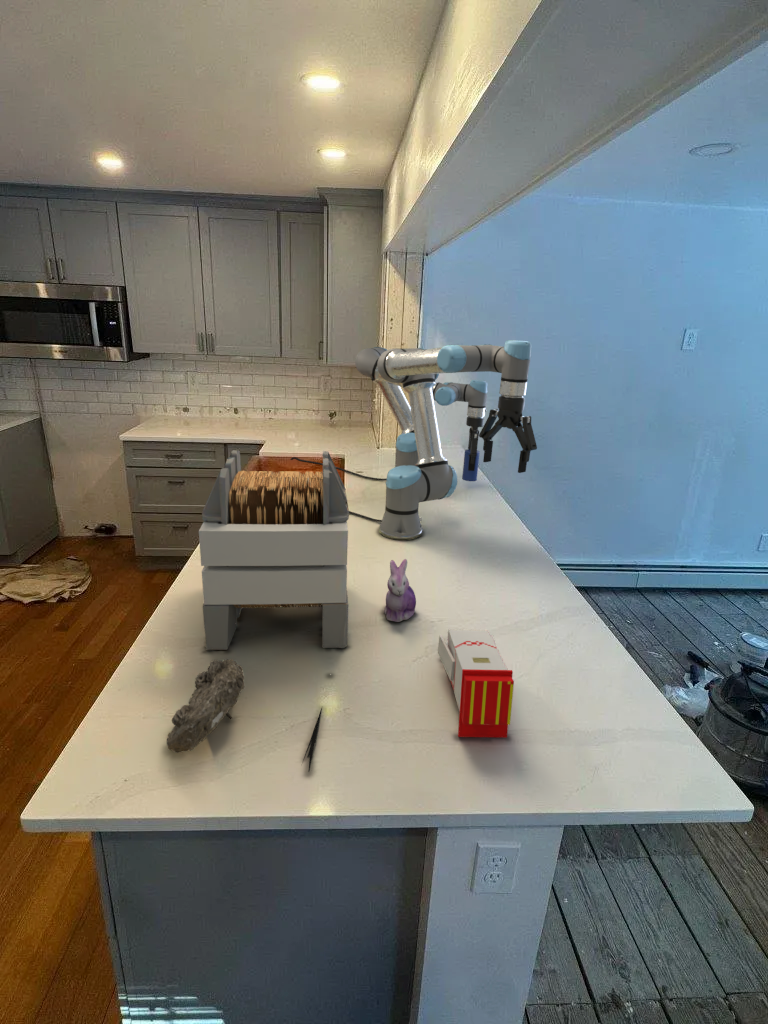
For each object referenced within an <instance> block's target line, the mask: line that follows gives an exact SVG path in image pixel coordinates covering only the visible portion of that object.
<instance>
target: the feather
mask: <svg viewBox="0 0 768 1024" xmlns="http://www.w3.org/2000/svg"><path fill="white" fill-rule="evenodd" d="M329 675H330V676H331V675H332V674H331V673H330V674H329ZM322 710H323V707H321V708H320V710H319V713H318V716H317V719H316V723H315V725H314V728H313V731H312V733H311V737H310V739H309V742H308V745H307V748H306V751H305V754H304V757H303V760H302V763H301V767H302V765H303V763H304V761H305V758H308V759H309V760H308V762H307V763H308V764H307V766H308V771H310V770H311V766H312V765H311V764H312V760H313V757H315V756H314V755H315V751H316V749H315V746H317V739H318V733H319V729H320V722H321V717H322V712H323V711H322ZM313 754H314V755H313ZM306 755H307V757H306Z"/></svg>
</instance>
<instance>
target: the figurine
mask: <svg viewBox="0 0 768 1024" xmlns="http://www.w3.org/2000/svg"><path fill="white" fill-rule="evenodd" d="M407 567H408V559H406V558H404V559H403V560H402V561H401V563H400V565H399V566H398V565H397V563H396V562H395V561H394V560H393V559H391V560H390V561H389V570H390V576H389V578H388V579H387V589H388V591H387V592H386V594H385V595H386V596H385V607H384V615H385V616H386V620H387V621H391V622H395V623H400V622H402V621H406V620H409V619H410V618H411V617H413V616H414V615H415V610H416V606H417V597H416V593H415V591H414V590H413V587H411V586H410V582H409V579H408V577H407V574H406V571H407Z"/></svg>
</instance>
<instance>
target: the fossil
mask: <svg viewBox="0 0 768 1024" xmlns="http://www.w3.org/2000/svg"><path fill="white" fill-rule="evenodd" d="M243 670H244V669H243V667H242V665H240V664H237V662H236V661H235V660H234V659H232V658H231V659H227V658H226V659H224V660H223V661H222V660H217V659H212V660H211V661H210V663H209V665H208V666H207V671H201V672H199V673H198V674H197V675H196V676H195V680H194V684H195V685H194V687H195V689H194V690H193V693H192V694H191V697H190V698H189V700H188V704H184V705H182V706H181V707H180V709H177V710H176V711H175V713H174V715H173V716H172V718H171V723H172V724H173V727H172V730H171V731H170V732H168V734H167V738H166V741H167V742H166V745H167V749H168V750H169V751H173V752H174V753H176V754H178V753H182V752H188V751H189V752H192V751H193V750H195V748H196V747H197V746H199V744H200V743H201V742H203V741H204V740H205V739H206V738H207V737H208V736H209V735H210V734H211V733H212V732H214V730H215V729H217V727H218V726H219V724H220V722H221V721H222V720H223V719H224V718H225V716H226V717H227V719H229V720H233V717H232V715H230V714H229V710H230V709H231V708H234V706H235V704H236V703H237V702H238V699H239V697H240V695H241V693H242V691H243V690H245V689H244V688H245V675H244V671H243Z"/></svg>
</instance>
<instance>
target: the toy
mask: <svg viewBox="0 0 768 1024" xmlns="http://www.w3.org/2000/svg"><path fill="white" fill-rule="evenodd" d="M446 640H447V643H446V641H445V639H444V636H443V635H442V634H439V637H438V646H437V656H438V657H439V659H440V661H441V663H442V666H443V668H444V670H445V672H446V674H447V677H448V679H449V681H450V684H451V687H452V690H453V693H454V697H455V701H456V705H457V708H458V711H459V714H458V715H459V716H458V730H457V731H458V732H457V737H458V738H508V731H509V726H510V725H511V717H512V707H513V697H514V696H513V695H514V684H515V680H514V679H513V673H514V671H513V670H512V669H508V667H507V665H506V662H505V661H504V659H503V658H502V655H501V653H500V651H499V649H498V647H497V643H496V639H495V637H494V635H493V634H491V632H490V631H489V629H467V628H466V629H465V628H463V629H461V628H460V629H459V628H448V630H447V639H446Z"/></svg>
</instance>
